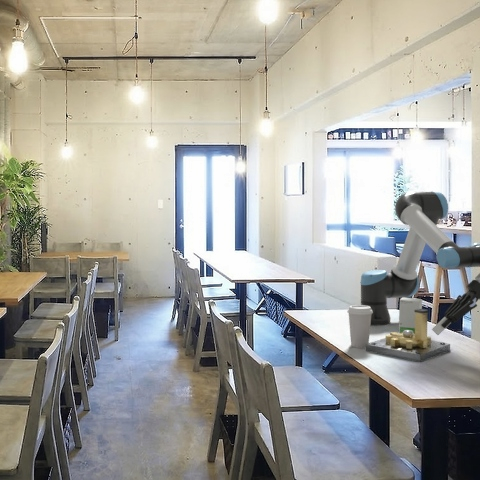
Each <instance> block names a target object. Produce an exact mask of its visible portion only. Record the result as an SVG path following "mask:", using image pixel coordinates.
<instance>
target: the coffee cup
mask: <svg viewBox="0 0 480 480" xmlns="http://www.w3.org/2000/svg"><path fill="white" fill-rule="evenodd" d="M346 311H347V313H348V323H349V324H348V325H349V333H350V334H349V336H350V346H351V347H353V348H360V349H361V348H365V349H366V344H368V343H370V333H371V325H370V324H371V314H372V313H373V311H372V310H371V307H370V306H365V305H361V304H354V305H349V308H348V309H347V310H346Z"/></svg>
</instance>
